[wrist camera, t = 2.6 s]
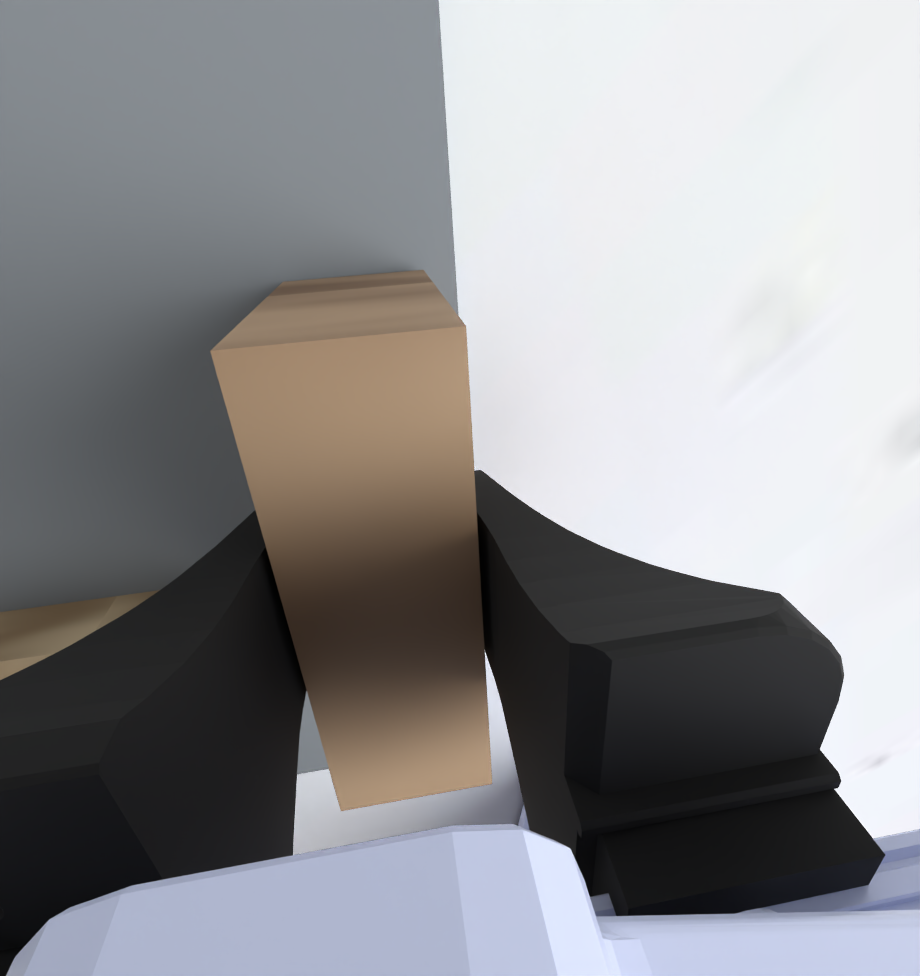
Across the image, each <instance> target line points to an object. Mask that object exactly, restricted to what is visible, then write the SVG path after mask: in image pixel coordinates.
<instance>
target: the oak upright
mask: <svg viewBox="0 0 920 976" xmlns="http://www.w3.org/2000/svg"><path fill="white" fill-rule="evenodd" d="M158 591H160V590H157V591H150V592H143V593H136V594H128V595H121V596H114V597H107V598H99V599H92V600H85V601H78V602H70V603H63V604H56V605H49V606H41V607H34V608H27V609H20V610H12V611H5V612H0V680H2V679H4V678H6V677H8V676H10V675H12V674H14V673H16V672H18V671H20V670H23V669H25V668H27V667H29V666H31V665H33V664H35V663H37V662H39V661H41V660H43V659H45V658H47V657H49V656H51V655H53V654H55V653H56V652H58V651H60V650H62V649H64V648H66V647H68V646H70V645H72V644H73V643H75V642H77V641H79V640H80V639H82V638H84V637H86V636H87V635H89V634H91V633H92V632H94V631H96V630H98V629H99V628H101V627H103V626H104V625H106V624H108V623H110V622H111V621H113V620H115V619H117V618H118V617H120V616H122V615H123V614H125V613H127V612H128V611H130V610H131V609H133V608H134V607H136V606H137V605H139V604H140V603H142V602H143V601H145V600H146V599H148V598H149V597H151V596H152V595H154V594H155V593H157V592H158Z"/></svg>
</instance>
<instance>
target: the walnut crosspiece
mask: <svg viewBox="0 0 920 976" xmlns="http://www.w3.org/2000/svg"><path fill="white" fill-rule="evenodd" d="M210 352H211V355H212V359H213V362H214V366H215V370H216V373H217V377H218V380H219V384H220V387H221V391H222V394H223V398H224V401H225V405H226V408H227V412H228V415H229V419H230V422H231V426H232V429H233V433H234V436H235V440H236V443H237V447H238V450H239V454H240V457H241V461H242V464H243V468H244V472H245V475H246V479H247V482H248V486H249V489H250V493H251V496H252V500H253V503H254V507H255V510H256V514H257V517H258V521H259V524H260V528H261V531H262V535H263V538H264V542H265V545H266V549H267V552H268V556H269V559H270V563H271V566H272V570H273V574H274V577H275V581H276V584H277V588H278V591H279V595H280V598H281V602H282V605H283V609H284V612H285V616H286V619H287V623H288V626H289V630H290V633H291V637H292V640H293V644H294V647H295V651H296V654H297V658H298V661H299V665H300V668H301V672H302V676H303V679H304V683H305V686H306V690H307V693H308V697H309V700H310V704H311V707H312V711H313V714H314V718H315V721H316V725H317V728H318V732H319V735H320V739H321V742H322V746H323V749H324V753H325V756H326V760H327V763H328V767H329V770H330V774H331V778H332V781H333V785H334V788H335V792H336V795H337V799H338V802H339V806H340V809H341V811H344V810H350V809H356V808H361V807H367V806H372V805H378V804H383V803H389V802H394V801H400V800H405V799H411V798H416V797H422V796H427V795H433V794H439V793H444V792H450V791H455V790H461V789H466V788H472V787H477V786H483V785H488V784H492V773H491V756H490V738H489V721H488V703H487V686H486V668H485V651H484V633H483V616H482V598H481V581H480V563H479V546H478V528H477V511H476V493H475V476H474V458H473V441H472V423H471V406H470V388H469V371H468V353H467V336H466V326H465V324H464V323H463V322H462V320H461V319H460V318H459V316H458V315H457V314H456V312H455V311H454V310H453V308H452V307H451V306H450V304H449V303H448V302H447V300H446V299H445V298H444V296H443V295H442V294H441V292H440V291H439V290H438V288H437V287H436V286H435V284H434V283H433V282H432V280H431V279H430V278H429V276H428V275H427V274H426V272H425V271H424V270H415V271H403V272H391V273H380V274H368V275H356V276H345V277H333V278H321V279H310V280H298V281H286V282H282V283H281V284H280V285H279V286H278V287H277V288H276V289H275V290H274V291H273V292H272V293H271V294H270V295H269V296H268V297H266V298H265V299H264V300H263V301H262V302H261V303H260V304H259V305H258V306H257V307H256V308H255V309H254V310H253V311H252V312H251V313H250V314H249V315H247V316H246V317H245V318H244V319H243V320H242V321H241V322H240V323H239V324H238V325H237V326H236V327H235V328H234V329H233V330H232V331H231V332H230V333H229V334H227V335H226V336H225V337H224V338H223V339H222V340H221V341H220V342H219V343H218V344H217V345H216V346H215V347H214V348H213V349H212V350H211V351H210Z"/></svg>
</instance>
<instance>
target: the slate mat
mask: <svg viewBox="0 0 920 976" xmlns="http://www.w3.org/2000/svg"><path fill="white" fill-rule="evenodd" d="M415 270H424V271H425V272H426V274H427V275H428V276H429V278H430V279H431V280H432V282H433V283H434V284H435V286H436V287H437V288H438V290H439V291H440V292H441V294H442V295H443V296H444V298H445V299H446V300H447V302H448V303H449V304H450V306H451V307H452V308H453V310H454V311H455V312H456V314H457V315H458V303H457V287H456V271H455V256H454V240H453V224H452V208H451V192H450V176H449V160H448V144H447V129H446V113H445V97H444V81H443V65H442V49H441V33H440V17H439V2H438V0H0V612H5V611H12V610H20V609H27V608H34V607H41V606H49V605H56V604H63V603H70V602H78V601H85V600H92V599H99V598H107V597H114V596H121V595H128V594H136V593H143V592H150V591H157V590H161V589H162V588H164V587H165V586H166V585H168V584H169V583H171V582H172V581H173V580H175V579H176V578H177V577H179V576H180V575H181V574H182V573H184V572H185V571H186V570H187V569H188V568H190V567H191V566H192V565H193V564H195V563H196V562H197V561H198V560H199V559H201V558H202V557H203V556H204V555H205V554H207V553H208V552H209V551H210V550H211V549H213V548H214V547H215V546H216V545H217V544H219V543H220V542H221V541H222V540H223V539H224V538H225V537H226V536H227V535H228V534H230V533H231V532H232V531H233V530H234V529H235V528H236V527H237V526H238V525H239V524H240V523H242V522H243V521H244V520H245V519H246V518H247V517H248V516H249V515H250V514H251V513H252V512H253V511H254V510H255V507H254V503H253V500H252V496H251V493H250V489H249V486H248V482H247V479H246V475H245V472H244V468H243V464H242V461H241V457H240V454H239V450H238V447H237V443H236V440H235V436H234V433H233V429H232V426H231V422H230V419H229V415H228V412H227V408H226V405H225V401H224V398H223V394H222V391H221V387H220V384H219V380H218V377H217V373H216V370H215V366H214V362H213V359H212V355H211V352H210V351H211V350H212V349H213V348H214V347H215V346H216V345H217V344H218V343H219V342H220V341H221V340H222V339H223V338H224V337H225V336H226V335H227V334H229V333H230V332H231V331H232V330H233V329H234V328H235V327H236V326H237V325H238V324H239V323H240V322H241V321H242V320H243V319H244V318H245V317H246V316H247V315H249V314H250V313H251V312H252V311H253V310H254V309H255V308H256V307H257V306H258V305H259V304H260V303H261V302H262V301H263V300H264V299H265V298H266V297H268V296H269V295H270V294H271V293H272V292H273V291H274V290H275V289H276V288H277V287H278V286H279V285H280V284H281V283H282V282H286V281H298V280H310V279H321V278H333V277H345V276H356V275H368V274H380V273H391V272H403V271H415ZM324 769H329V767H328V763H327V760H326V756H325V753H324V749H323V746H322V742H321V739H320V735H319V732H318V728H317V725H316V721H315V718H314V714H313V711H312V707H311V704H310V700H309V697H308V693H307V691H306V696H305V702H304V707H303V714H302V721H301V729H300V738H299V752H298V767H297V774H301V773H307V772H312V771H318V770H324Z"/></svg>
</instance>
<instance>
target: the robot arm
mask: <svg viewBox="0 0 920 976" xmlns="http://www.w3.org/2000/svg"><path fill="white" fill-rule="evenodd" d="M474 476H475V493H476V511H477V528H478V546H479V563H480V581H481V598H482V616H483V633H484V649H485V652H486V655H487V658H488V661H489V664H490V667H491V670H492V673H493V676H494V678H495V682H496V685H497V689H498V692H499V695H500V699H501V703H502V707H503V712H504V716H505V720H506V725H507V729H508V734H509V738H510V742H511V747H512V751H513V756H514V761H515V765H516V770H517V774H518V779H519V783H520V788H521V793H522V797H523V802H524V805H523V808H522V812H521V816H520V820H519V824H518V826H517V825H514V824H490V825H457V826H447V827H441V828H436V829H431V830H425V831H420V832H415V833H409V834H404V835H399V836H393V837H388V838H383V839H377V840H372V841H367V842H361V843H356V844H351V845H345V846H340V847H335V848H329V849H324V850H319V851H313V852H308V853H303V854H297V855H293V835H294V817H295V798H296V781H297V767H298V752H299V738H300V729H301V721H302V714H303V707H304V702H305V696H306V691H307V690H306V686H305V683H304V679H303V676H302V672H301V668H300V665H299V661H298V658H297V654H296V651H295V647H294V644H293V640H292V637H291V633H290V630H289V626H288V623H287V619H286V616H285V612H284V609H283V605H282V602H281V598H280V595H279V591H278V588H277V584H276V581H275V577H274V574H273V570H272V566H271V563H270V559H269V556H268V552H267V549H266V545H265V542H264V538H263V535H262V531H261V528H260V524H259V521H258V517H257V514H256V510H254V511H253V512H252V513H251V514H250V515H249V516H248V517H247V518H246V519H245V520H244V521H243V522H242V523H240V524H239V525H238V526H237V527H236V528H235V529H234V530H233V531H232V532H231V533H230V534H228V535H227V536H226V537H225V538H224V539H223V540H222V541H221V542H220V543H219V544H217V545H216V546H215V547H214V548H213V549H211V550H210V551H209V552H208V553H207V554H205V555H204V556H203V557H202V558H201V559H199V560H198V561H197V562H196V563H195V564H193V565H192V566H191V567H190V568H188V569H187V570H186V571H185V572H184V573H182V574H181V575H180V576H179V577H177V578H176V579H175V580H173V581H172V582H171V583H169V584H168V585H166V586H165V587H164V588H162V589H161V590H160V591H158V592H157V593H155V594H154V595H152V596H151V597H149V598H148V599H146V600H145V601H143V602H142V603H140V604H139V605H137V606H136V607H134V608H133V609H131V610H130V611H128V612H127V613H125V614H123V615H122V616H120V617H118V618H117V619H115V620H113V621H111V622H110V623H108V624H106V625H104V626H103V627H101V628H99V629H98V630H96V631H94V632H92V633H91V634H89V635H87V636H86V637H84V638H82V639H80V640H79V641H77V642H75V643H73V644H72V645H70V646H68V647H66V648H64V649H62V650H60V651H58V652H56V653H55V654H53V655H51V656H49V657H47V658H45V659H43V660H41V661H39V662H37V663H35V664H33V665H31V666H29V667H27V668H25V669H23V670H20V671H18V672H16V673H14V674H12V675H10V676H8V677H6V678H4V679H2V680H0V976H920V829H918V830H913V831H908V832H904V833H899V834H894V835H889V836H884V837H879V838H874V839H873V838H872V837H871V836H870V834H869V833H868V832H867V831H866V829H865V828H864V827H863V825H862V824H861V823H860V822H859V820H858V819H857V818H856V817H855V815H854V814H853V813H852V811H851V810H850V809H849V808H848V806H847V805H846V804H845V803H844V801H843V800H842V799H841V797H840V796H839V795H838V794H837V792H836V791H835V790H834V789H835V788H838V787H839V785H840V783H841V779H840V776H839V773H838V771H837V770H836V769H835V768H834V767H833V765H832V764H831V763H830V762H829V760H828V759H827V758H826V757H825V755H824V754H823V753H822V752H821V751H820V747H821V744H822V742H823V739H824V737H825V734H826V732H827V729H828V726H829V724H830V721H831V719H832V716H833V714H834V711H835V709H836V706H837V703H838V701H839V697H840V692H841V688H842V683H843V678H844V672H843V666H842V660H841V656H840V654H839V653H838V652H837V650H836V649H835V647H834V646H833V645H832V643H831V642H830V641H829V640H828V639H827V638H826V637H825V636H824V635H823V634H822V633H821V632H820V631H819V630H818V629H817V628H816V627H815V626H814V625H813V624H812V623H811V622H809V621H808V620H807V619H806V618H805V617H804V616H803V615H802V614H801V613H800V612H799V611H798V610H797V609H796V608H795V607H794V606H793V605H792V604H791V603H790V602H789V601H787V600H786V599H785V598H784V597H783V596H782V595H781V594H780V593H775V592H769V591H764V590H758V589H753V588H747V587H742V586H737V585H731V584H726V583H720V582H715V581H710V580H706V579H702V578H698V577H694V576H690V575H686V574H682V573H679V572H675V571H671V570H668V569H664V568H661V567H658V566H654V565H651V564H648V563H645V562H642V561H639V560H637V559H634V558H631V557H628V556H625V555H623V554H620V553H617V552H615V551H612V550H610V549H607V548H605V547H602V546H600V545H598V544H596V543H594V542H592V541H589V540H587V539H585V538H583V537H581V536H579V535H577V534H575V533H573V532H571V531H569V530H567V529H565V528H563V527H562V526H560V525H558V524H556V523H555V522H553V521H551V520H550V519H548V518H546V517H545V516H543V515H541V514H540V513H538V512H537V511H535V510H534V509H532V508H531V507H529V506H528V505H526V504H525V503H523V502H522V501H521V500H519V499H518V498H516V497H515V496H514V495H512V494H511V493H510V492H508V491H507V490H506V489H504V488H503V487H502V486H501V485H499V484H498V483H497V482H495V481H494V480H493V479H492V478H490V477H489V476H488V475H487V474H485V473H484V472H483V471H481V470H477V471H474Z"/></svg>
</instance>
